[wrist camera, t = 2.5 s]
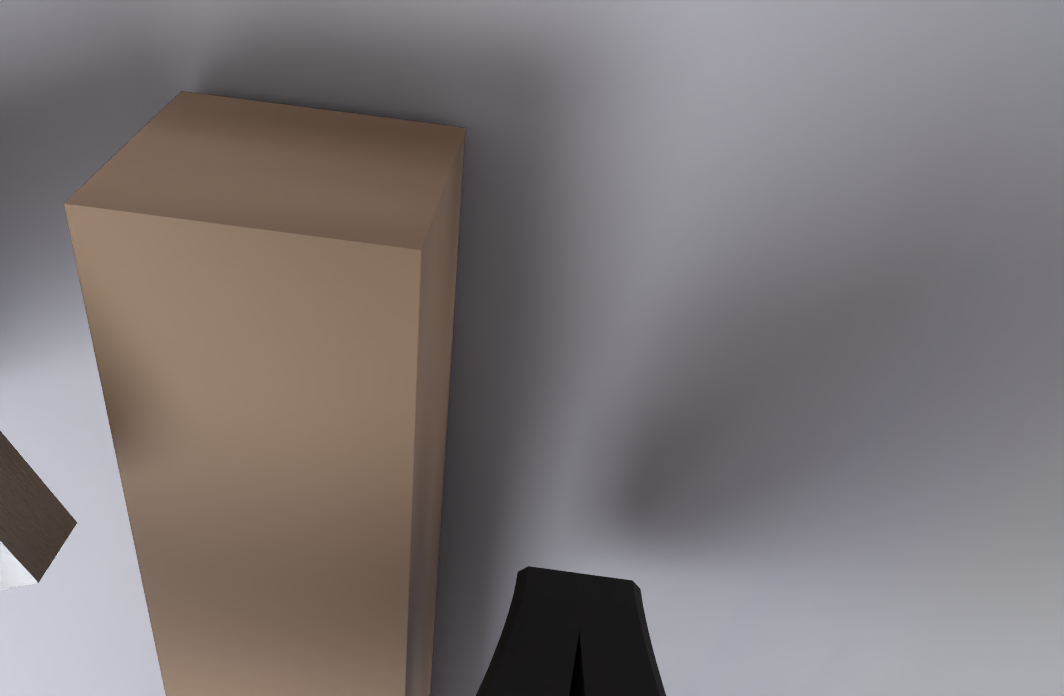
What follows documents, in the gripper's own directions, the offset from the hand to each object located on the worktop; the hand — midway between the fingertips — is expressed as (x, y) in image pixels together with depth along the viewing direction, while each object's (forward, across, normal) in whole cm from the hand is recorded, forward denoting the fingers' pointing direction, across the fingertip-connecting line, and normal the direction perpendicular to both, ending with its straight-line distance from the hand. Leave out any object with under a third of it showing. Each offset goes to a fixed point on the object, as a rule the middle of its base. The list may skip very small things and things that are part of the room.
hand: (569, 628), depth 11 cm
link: (+1, +3, 0) cm, 4 cm away
